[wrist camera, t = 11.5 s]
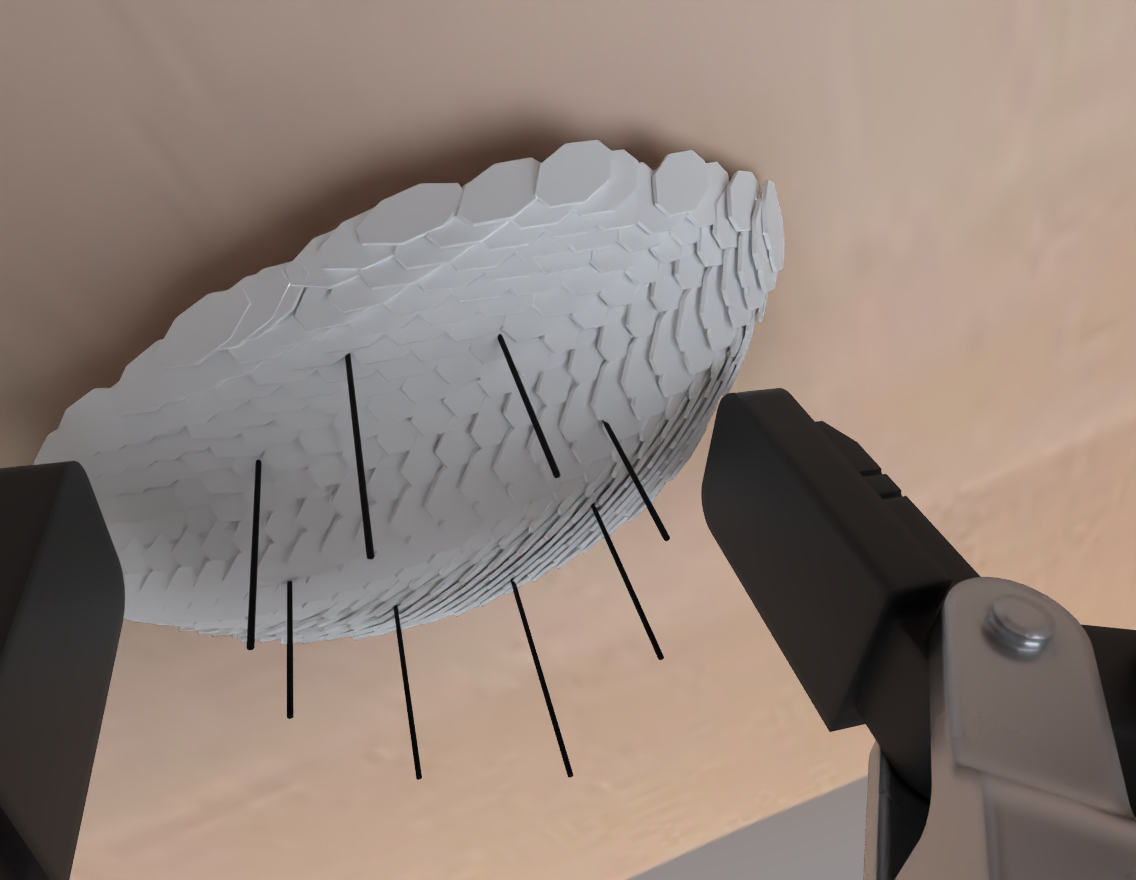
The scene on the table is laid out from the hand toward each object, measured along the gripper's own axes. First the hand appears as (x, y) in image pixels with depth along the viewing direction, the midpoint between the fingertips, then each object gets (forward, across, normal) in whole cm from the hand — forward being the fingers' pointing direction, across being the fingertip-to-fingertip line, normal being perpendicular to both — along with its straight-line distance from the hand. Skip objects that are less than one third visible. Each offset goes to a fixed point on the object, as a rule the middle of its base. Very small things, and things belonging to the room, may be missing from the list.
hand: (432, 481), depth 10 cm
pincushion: (+3, 0, 0) cm, 3 cm away
